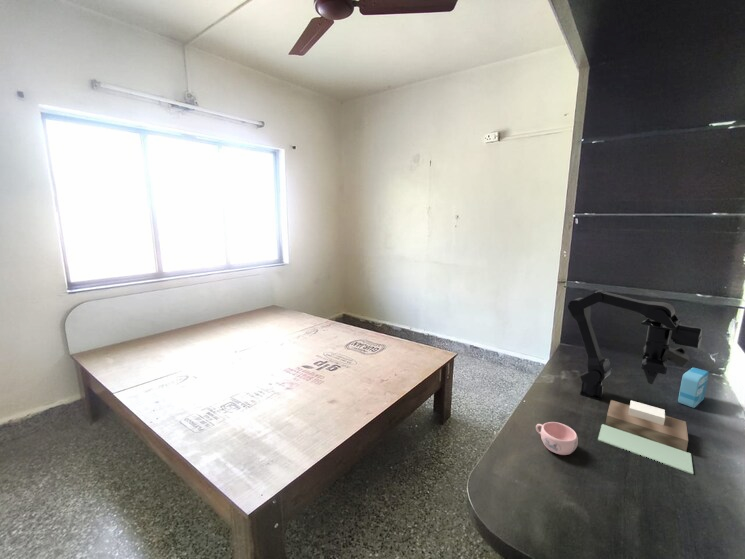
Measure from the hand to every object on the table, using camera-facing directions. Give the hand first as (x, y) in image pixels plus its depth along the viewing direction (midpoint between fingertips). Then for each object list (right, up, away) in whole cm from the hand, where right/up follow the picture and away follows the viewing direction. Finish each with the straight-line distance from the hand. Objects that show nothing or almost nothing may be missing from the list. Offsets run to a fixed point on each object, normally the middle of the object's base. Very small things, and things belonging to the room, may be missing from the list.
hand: (650, 381), depth 114 cm
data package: (+24, -11, +10) cm, 28 cm away
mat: (-14, -16, -14) cm, 25 cm away
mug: (-41, -17, -12) cm, 46 cm away
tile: (-5, -10, -4) cm, 12 cm away
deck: (-7, -14, -5) cm, 17 cm away
